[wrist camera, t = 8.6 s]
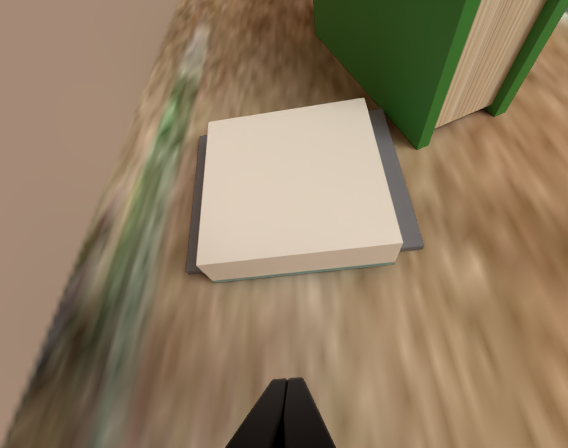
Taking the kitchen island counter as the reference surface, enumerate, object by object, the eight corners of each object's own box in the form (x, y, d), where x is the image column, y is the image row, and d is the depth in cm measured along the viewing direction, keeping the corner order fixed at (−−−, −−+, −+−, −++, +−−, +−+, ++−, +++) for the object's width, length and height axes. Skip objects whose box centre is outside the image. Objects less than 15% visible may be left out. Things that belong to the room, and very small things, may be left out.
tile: (403, 242, 16) (364, 97, 21) (196, 265, 17) (208, 122, 22) (394, 264, 19) (361, 130, 24) (214, 282, 20) (222, 150, 25)
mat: (422, 249, 19) (424, 245, 19) (188, 274, 21) (185, 271, 20) (381, 113, 25) (382, 108, 25) (201, 140, 27) (199, 136, 26)
